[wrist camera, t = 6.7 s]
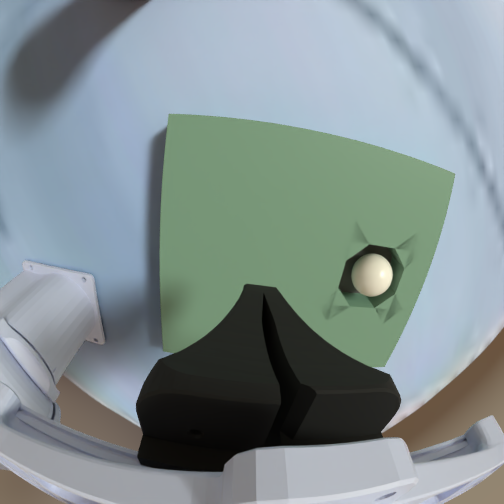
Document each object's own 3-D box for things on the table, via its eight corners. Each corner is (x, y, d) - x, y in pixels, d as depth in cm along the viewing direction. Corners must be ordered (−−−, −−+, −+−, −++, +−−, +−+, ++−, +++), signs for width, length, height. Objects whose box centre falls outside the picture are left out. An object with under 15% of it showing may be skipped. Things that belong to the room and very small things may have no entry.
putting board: (170, 333, 24) (163, 351, 21) (179, 117, 17) (168, 113, 15) (376, 350, 25) (384, 366, 22) (437, 169, 18) (455, 173, 16)
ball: (375, 284, 22) (341, 280, 21) (387, 249, 20) (352, 243, 20) (390, 306, 19) (353, 303, 18) (405, 268, 17) (367, 262, 17)
